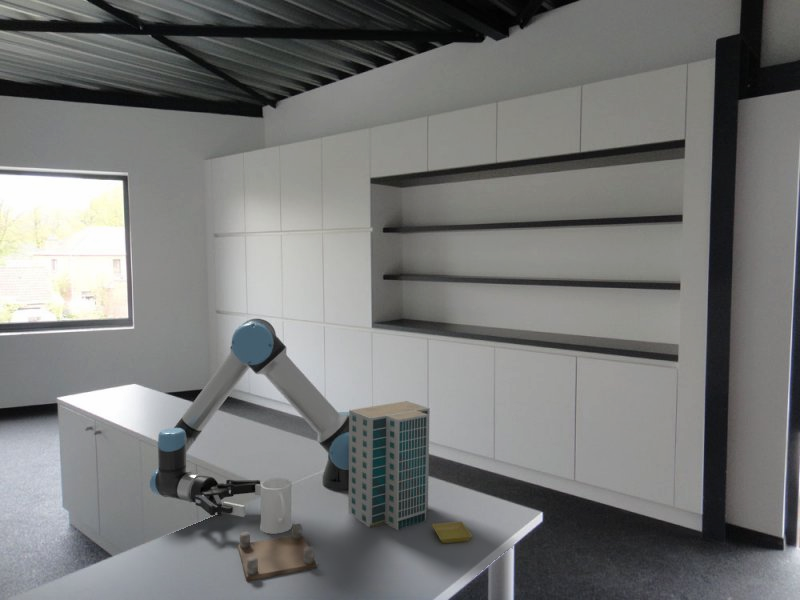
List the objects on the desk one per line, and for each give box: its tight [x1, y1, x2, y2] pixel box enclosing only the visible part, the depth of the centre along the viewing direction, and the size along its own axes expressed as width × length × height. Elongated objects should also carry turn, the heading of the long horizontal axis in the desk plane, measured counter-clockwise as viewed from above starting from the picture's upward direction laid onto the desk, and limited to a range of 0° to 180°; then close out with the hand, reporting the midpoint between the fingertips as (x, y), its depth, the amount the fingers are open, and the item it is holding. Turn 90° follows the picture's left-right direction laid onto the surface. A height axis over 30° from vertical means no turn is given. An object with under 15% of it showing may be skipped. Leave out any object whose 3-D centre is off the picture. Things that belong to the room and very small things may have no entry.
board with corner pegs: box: [237, 523, 318, 582], centre depth 138 cm, size 16×16×4 cm
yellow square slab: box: [431, 521, 473, 544], centre depth 151 cm, size 9×9×2 cm
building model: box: [348, 400, 430, 531], centre depth 163 cm, size 20×16×30 cm
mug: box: [259, 477, 293, 535], centre depth 153 cm, size 12×8×12 cm
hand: (260, 501), depth 155 cm, fingers open, 13 cm apart
